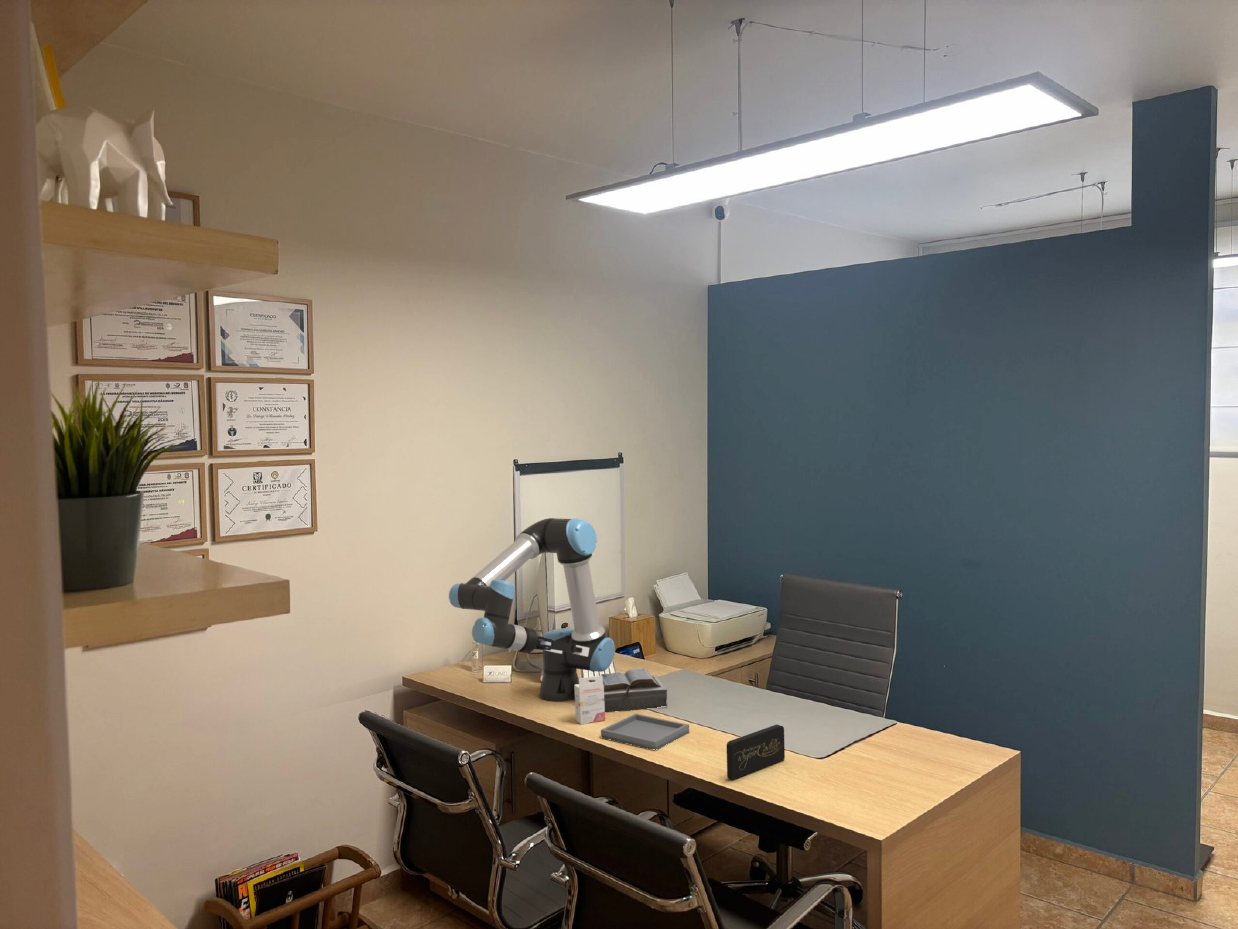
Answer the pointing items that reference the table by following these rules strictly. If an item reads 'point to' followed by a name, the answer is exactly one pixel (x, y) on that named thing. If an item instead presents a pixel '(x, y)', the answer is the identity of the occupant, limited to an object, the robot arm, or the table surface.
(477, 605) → the robot arm
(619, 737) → the desk tray
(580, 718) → the ink cartridge box
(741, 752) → the nameplate
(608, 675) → the bible
